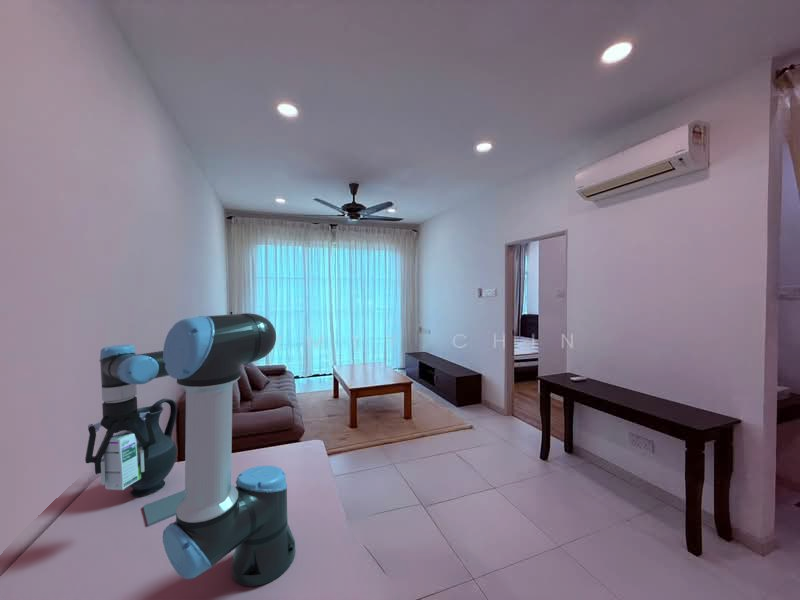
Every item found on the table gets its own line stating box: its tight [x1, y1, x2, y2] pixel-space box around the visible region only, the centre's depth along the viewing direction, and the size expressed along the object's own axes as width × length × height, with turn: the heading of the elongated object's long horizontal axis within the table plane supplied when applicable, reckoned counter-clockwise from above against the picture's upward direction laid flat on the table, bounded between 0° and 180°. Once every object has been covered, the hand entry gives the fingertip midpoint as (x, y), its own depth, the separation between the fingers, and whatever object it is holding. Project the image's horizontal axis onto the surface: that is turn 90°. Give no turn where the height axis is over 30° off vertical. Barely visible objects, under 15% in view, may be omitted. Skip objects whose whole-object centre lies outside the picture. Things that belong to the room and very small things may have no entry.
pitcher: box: [126, 398, 178, 498], centre depth 115 cm, size 17×21×30 cm
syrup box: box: [102, 431, 141, 491], centre depth 91 cm, size 6×6×14 cm
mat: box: [142, 489, 185, 527], centre depth 103 cm, size 12×12×1 cm
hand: (123, 476), depth 92 cm, fingers closed on syrup box, 8 cm apart
